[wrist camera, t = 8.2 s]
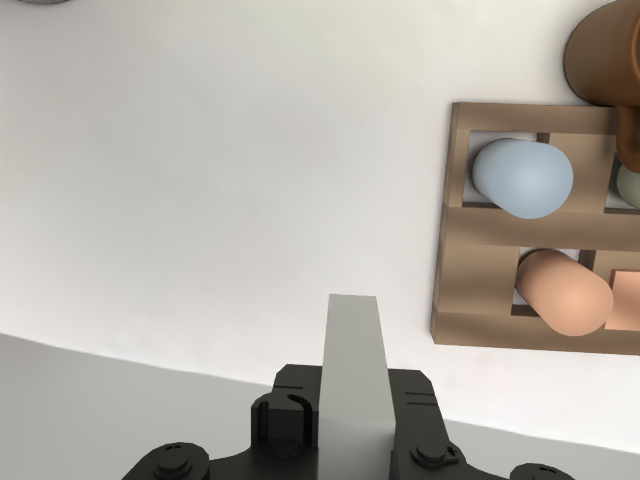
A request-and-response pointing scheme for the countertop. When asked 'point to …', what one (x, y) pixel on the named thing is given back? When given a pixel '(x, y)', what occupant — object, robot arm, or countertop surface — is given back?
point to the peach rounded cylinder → (564, 292)
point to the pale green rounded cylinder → (629, 186)
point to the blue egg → (523, 177)
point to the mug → (610, 70)
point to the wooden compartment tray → (534, 237)
